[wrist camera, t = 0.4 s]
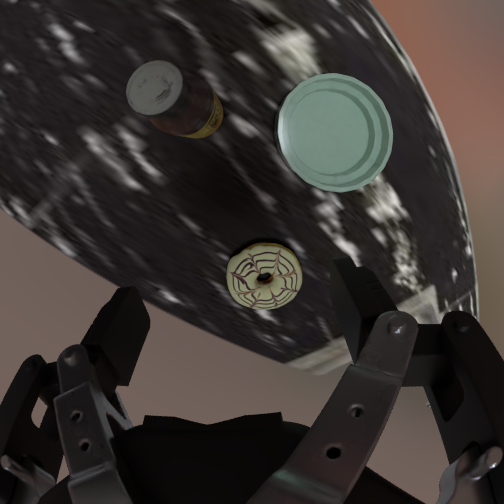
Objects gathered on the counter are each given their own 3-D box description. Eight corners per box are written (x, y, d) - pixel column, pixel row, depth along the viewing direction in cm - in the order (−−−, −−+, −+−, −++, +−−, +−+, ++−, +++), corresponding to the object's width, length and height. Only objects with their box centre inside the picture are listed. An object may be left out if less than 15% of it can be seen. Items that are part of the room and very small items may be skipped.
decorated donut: (215, 255, 41) (212, 266, 38) (283, 226, 40) (287, 235, 36) (245, 309, 45) (245, 323, 42) (307, 284, 44) (312, 297, 40)
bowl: (262, 89, 32) (264, 82, 28) (364, 77, 31) (380, 71, 27) (286, 194, 38) (292, 202, 33) (382, 175, 37) (399, 181, 32)
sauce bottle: (229, 131, 34) (214, 125, 16) (183, 143, 35) (124, 154, 16) (217, 86, 32) (192, 36, 13) (172, 99, 32) (105, 69, 14)
